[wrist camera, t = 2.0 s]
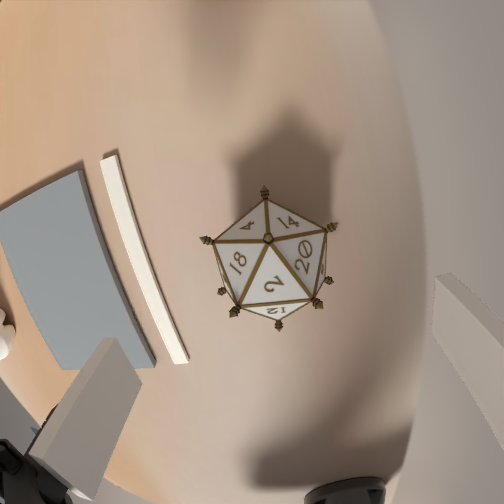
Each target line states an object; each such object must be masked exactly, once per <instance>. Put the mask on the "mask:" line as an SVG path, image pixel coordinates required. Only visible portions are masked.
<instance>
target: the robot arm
mask: <svg viewBox="0 0 504 504" xmlns="http://www.w3.org/2000/svg"><path fill="white" fill-rule="evenodd" d="M431 334H432V336H433V337H434V339H435V340H436V342H437V343H438V344H439V346H440V347H441V349H442V350H443V352H444V353H445V355H446V356H447V357H448V359H449V360H450V362H451V363H452V365H453V366H454V368H455V369H456V371H457V373H458V374H459V375H460V377H461V379H462V380H463V382H464V383H465V385H466V387H467V388H468V389H469V391H470V393H471V394H472V396H473V398H474V399H475V401H476V403H477V404H478V406H479V408H480V409H481V411H482V413H483V415H484V416H485V418H486V420H487V422H488V423H489V425H490V427H491V428H492V430H493V432H494V434H495V436H496V438H497V440H498V442H499V444H500V445H501V447H502V449H503V450H504V322H503V320H502V319H501V318H499V317H498V316H497V315H496V314H495V313H494V312H493V311H492V310H491V309H490V308H489V307H488V306H487V305H486V304H485V303H484V302H483V301H482V300H481V299H480V298H479V297H477V296H476V295H475V294H474V293H473V292H472V291H471V290H470V289H468V287H466V286H465V285H464V284H463V283H462V282H461V281H460V280H458V279H457V278H456V277H455V276H454V275H453V274H451V273H447V274H444V275H440V276H437V277H435V289H434V304H433V316H432V326H431ZM141 386H142V382H141V380H140V379H139V377H138V375H137V374H136V372H135V370H134V368H133V367H132V365H131V363H130V361H129V360H128V358H127V356H126V354H125V353H124V351H123V349H122V347H121V345H120V343H119V341H118V339H117V338H116V337H115V338H104V339H102V341H101V342H100V344H99V345H98V346H97V348H96V349H95V351H94V352H93V353H92V355H91V356H90V358H89V359H88V361H87V362H86V364H85V365H84V366H83V368H82V369H81V371H80V372H79V374H78V375H77V377H76V378H75V380H74V381H73V383H72V384H71V386H70V387H69V389H68V390H67V392H66V393H65V395H64V396H63V398H62V399H61V401H60V402H59V404H58V405H56V406H55V407H54V408H53V409H52V410H51V412H50V413H49V415H48V417H47V418H46V421H44V423H43V425H42V426H41V427H42V428H40V429H39V431H38V433H37V434H36V436H35V438H34V439H33V441H32V443H31V444H30V446H29V448H28V450H27V451H26V453H25V454H24V456H23V455H22V454H21V453H20V452H19V451H18V450H17V449H16V448H15V447H14V446H13V445H12V444H11V443H10V442H9V441H8V440H7V439H0V497H2V498H3V499H4V500H5V504H73V503H72V500H71V498H70V496H69V495H68V494H67V493H66V492H67V490H68V489H70V490H71V491H72V492H73V493H75V494H76V495H77V496H79V497H82V498H85V499H88V500H91V501H93V500H94V498H95V495H96V493H97V490H98V488H99V485H100V483H101V480H102V477H103V475H104V472H105V470H106V467H107V465H108V462H109V460H110V458H111V455H112V453H113V450H114V448H115V445H116V443H117V441H118V438H119V436H120V434H121V431H122V429H123V427H124V424H125V422H126V420H127V417H128V415H129V413H130V410H131V408H132V406H133V404H134V401H135V399H136V397H137V394H138V392H139V390H140V388H141ZM385 495H386V489H385V485H384V481H383V480H382V479H379V478H374V477H364V478H355V479H349V480H344V481H340V482H336V483H332V484H329V485H326V486H323V487H321V488H318V489H316V490H314V491H312V492H311V493H309V494H308V495H307V496H306V497H305V498H304V504H384V502H385ZM0 504H1V503H0Z"/></svg>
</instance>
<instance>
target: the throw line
mask: <svg viewBox="0 0 504 504" xmlns="http://www.w3.org/2000/svg"><path fill="white" fill-rule="evenodd" d="M100 165H101V169H102V172H103V176H104V180H105V183H106V187H107V190H108V194H109V197H110V201H111V204H112V207H113V211H114V214H115V217H116V220H117V223H118V226H119V229H120V232H121V235H122V238H123V241H124V244H125V247H126V250H127V253H128V255H129V258H130V261H131V264H132V266H133V269H134V272H135V274H136V277H137V279H138V282H139V284H140V287H141V290H142V292H143V294H144V297H145V299H146V302H147V304H148V307H149V309H150V311H151V314H152V316H153V318H154V321H155V323H156V325H157V327H158V330H159V332H160V334H161V336H162V339H163V341H164V343H165V345H166V347H167V349H168V351H169V353H170V356H171V358H172V360H173V362H174V364H183V363H189V358H188V355H187V353H186V351H185V349H184V346H183V344H182V342H181V340H180V337H179V335H178V333H177V330H176V328H175V325H174V323H173V321H172V318H171V316H170V313H169V311H168V308H167V306H166V303H165V301H164V298H163V296H162V293H161V291H160V288H159V285H158V283H157V280H156V277H155V275H154V272H153V269H152V266H151V264H150V261H149V258H148V255H147V252H146V249H145V246H144V243H143V241H142V238H141V235H140V231H139V228H138V225H137V222H136V219H135V216H134V213H133V209H132V206H131V203H130V199H129V196H128V193H127V189H126V186H125V182H124V178H123V175H122V171H121V167H120V164H119V160H118V156H117V155H113V156H111V157H109V158H106V159H104V160H101V161H100Z"/></svg>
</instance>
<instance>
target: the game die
mask: <svg viewBox="0 0 504 504" xmlns="http://www.w3.org/2000/svg"><path fill="white" fill-rule="evenodd" d="M268 191H269V190H267V188H266V187H265V186H263V188H262V190H261V191H260V192H261V196H262V198H263V200H262V201H261V202H259V203H258V204H257V205H256V206H254V207H253V208H252V209H251V210H249V211H248V212H247V213H246V214H245V215H243V216H242V217H241V218H240V219H238V220H237V221H236V222H235V223H234V224H232V225H231V226H230V227H229V228H228V229H226V230H225V231H224V232H223V233H222V234H220V235H219V236H218V237H217V238H216V239H214V240H213V239H211V237H207V236H204V237H199V238H200V239H201V241H202V242H203V244H207V245H213V249H214V253H215V256H216V260H217V263H218V267H219V270H220V274H221V277H222V281H223V284H224V287H221V288H219V290H218V293H217V294H219V295H221V296H222V295H223V294H225V293H226V291H227V293H228V294H229V296H230V297H231V299H232V300H233V302H234V303H235V305H236V306H234V307H232V308H231V310H230V311H229V312H230V318H231V317H234V316H238V313H240V309H243V310H246V311H249V312H252V313H255V314H258V315H261V316H264V317H267V318H270V319H273V320H276V323H275V328H276V329H277V330H278V331H279V332H280V330H281V329H282V327H283V326H282V324H283V323H282V322H281V320H282V319H283V318H285V317H287V316H288V315H290V314H292V313H294V312H295V311H297V310H299V309H300V308H302V307H304V306H305V305H307V304H308V303H310V302H312V304H313V306H315V309H317V308H320V309H323V304H322V303H323V302H322V301H320V299H318V298H316V295H317V293H318V291H319V290H320V288H321V286H322V284H323V282H325V283H327V284H329V285H330V284H332V283H334V281H333V280H332V277H329V276H328V277H325V273H326V252H327V233H328V232H332V231H333V230H335V229H336V227H337V224H338V223H332V222H331V223H330V224H328V225H327V227H326V228H324V227H322V226H320V225H318V224H316V223H314V222H312V221H310V220H308V219H306V218H305V217H303V216H301V215H299V214H297V213H295V212H293V211H291V210H289V209H287V208H285V207H283V206H281V205H279V204H277V203H275V202H273V201H271V200H269V199H268V195H269V194H268Z"/></svg>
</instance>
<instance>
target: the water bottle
mask: <svg viewBox="0 0 504 504" xmlns="http://www.w3.org/2000/svg"><path fill="white" fill-rule="evenodd" d="M5 316H6V314H5V312H4V311H3V310H2V309H1V308H0V360H1V359H3V358H5V357H6V356H7V355H8V353H9V352H10V349H11V347H12V345H13V343H14V339H15V329H14V327H13V325H5V326H4V325H3V321H4V319H5Z"/></svg>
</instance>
